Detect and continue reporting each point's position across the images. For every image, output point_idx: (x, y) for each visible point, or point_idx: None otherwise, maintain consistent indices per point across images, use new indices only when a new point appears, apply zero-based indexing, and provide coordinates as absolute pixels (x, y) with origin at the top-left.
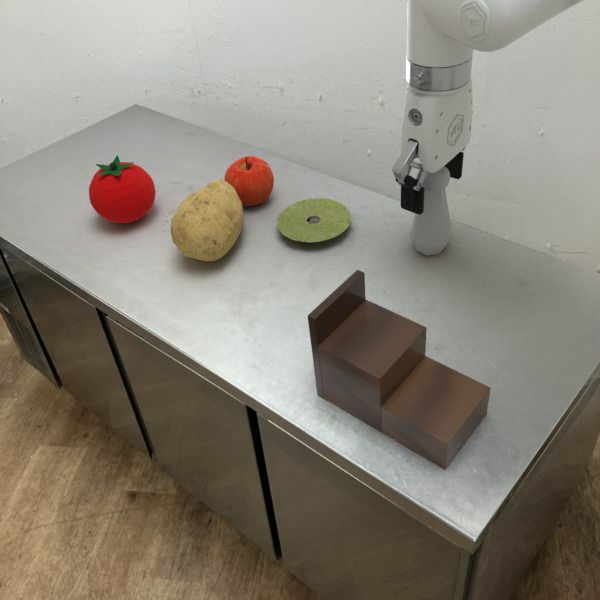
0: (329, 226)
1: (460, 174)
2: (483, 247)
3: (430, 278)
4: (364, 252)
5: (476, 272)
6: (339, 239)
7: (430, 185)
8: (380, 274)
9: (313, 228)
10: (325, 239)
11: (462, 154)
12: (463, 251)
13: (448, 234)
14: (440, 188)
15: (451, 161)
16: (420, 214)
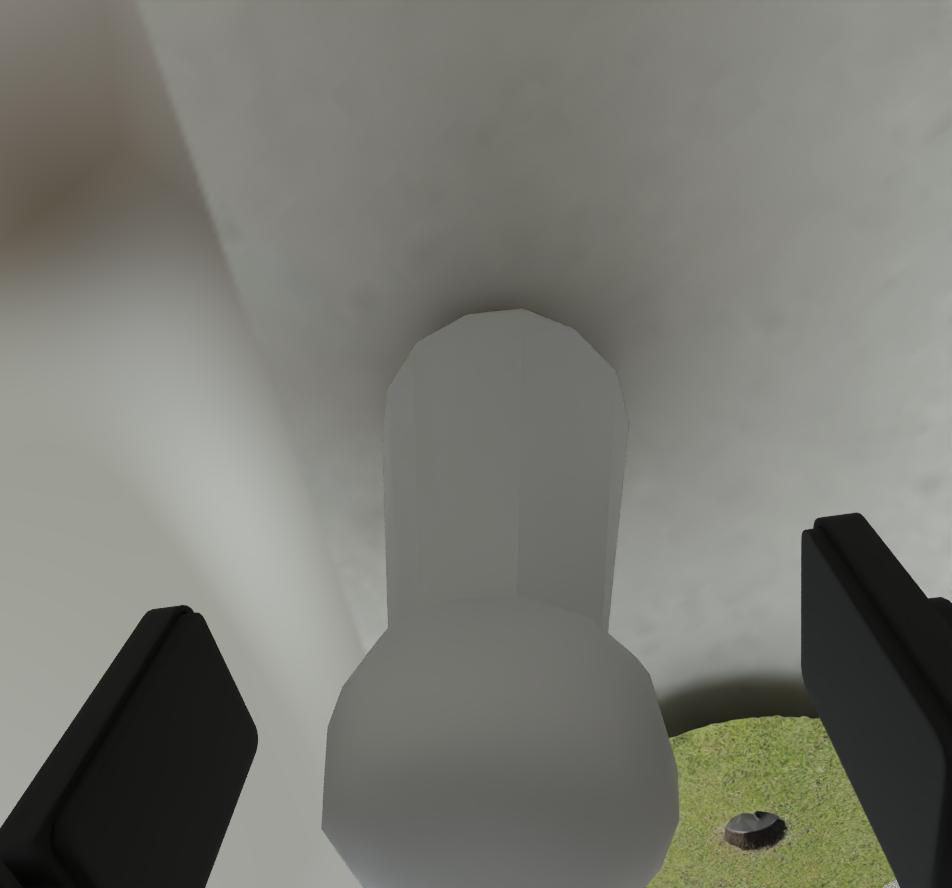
0: (755, 771)
1: (155, 632)
2: (291, 173)
3: (722, 207)
4: (747, 572)
5: (500, 34)
6: (736, 691)
7: (657, 713)
8: (848, 419)
9: (812, 802)
10: None
11: (24, 833)
12: (404, 234)
13: (473, 336)
14: (562, 620)
15: (159, 802)
16: (852, 515)
